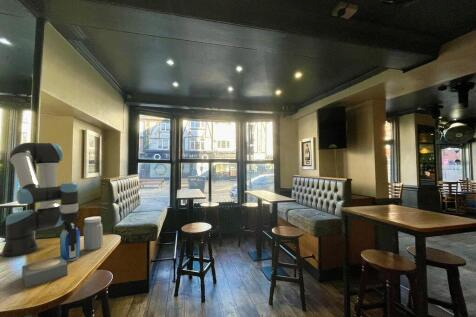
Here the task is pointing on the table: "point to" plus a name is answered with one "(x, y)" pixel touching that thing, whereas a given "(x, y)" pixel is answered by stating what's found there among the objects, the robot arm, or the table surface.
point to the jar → (93, 233)
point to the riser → (43, 271)
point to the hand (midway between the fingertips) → (70, 255)
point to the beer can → (65, 248)
